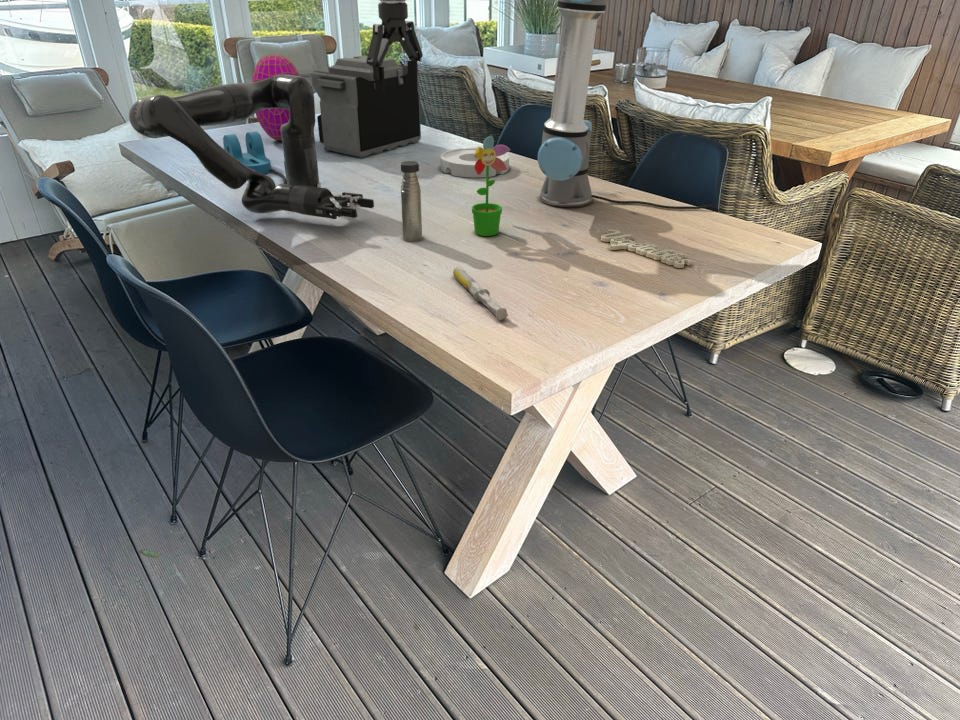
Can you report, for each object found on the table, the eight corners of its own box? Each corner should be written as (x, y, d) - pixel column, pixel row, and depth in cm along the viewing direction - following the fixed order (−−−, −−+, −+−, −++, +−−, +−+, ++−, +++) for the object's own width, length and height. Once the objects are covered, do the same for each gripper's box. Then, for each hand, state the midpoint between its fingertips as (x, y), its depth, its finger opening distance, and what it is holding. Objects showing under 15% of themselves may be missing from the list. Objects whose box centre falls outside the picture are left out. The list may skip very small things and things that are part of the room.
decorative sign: (586, 237, 174) (611, 228, 179) (586, 240, 174) (611, 231, 180) (674, 268, 157) (698, 257, 162) (673, 272, 157) (698, 261, 163)
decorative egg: (293, 132, 276) (283, 50, 261) (319, 140, 264) (310, 56, 249) (249, 139, 265) (236, 54, 250) (273, 148, 253) (261, 60, 238)
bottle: (426, 237, 175) (423, 164, 166) (413, 243, 172) (410, 168, 162) (411, 233, 178) (408, 161, 168) (399, 238, 174) (395, 165, 165)
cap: (422, 170, 166) (422, 162, 166) (410, 174, 163) (410, 166, 162) (409, 167, 169) (408, 159, 168) (397, 171, 166) (396, 163, 165)
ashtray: (443, 158, 243) (443, 147, 241) (508, 159, 242) (508, 148, 240) (437, 176, 223) (437, 164, 221) (508, 178, 222) (509, 165, 220)
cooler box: (383, 133, 276) (378, 52, 261) (425, 141, 265) (422, 56, 250) (314, 150, 251) (304, 61, 235) (358, 160, 240) (350, 67, 224)
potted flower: (478, 239, 174) (479, 138, 161) (464, 230, 180) (464, 131, 167) (510, 234, 178) (514, 134, 165) (496, 224, 184) (498, 128, 171)
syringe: (449, 274, 155) (449, 263, 153) (465, 272, 156) (464, 260, 154) (490, 323, 135) (491, 310, 133) (508, 319, 136) (508, 307, 134)
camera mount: (227, 164, 233) (221, 132, 227) (257, 160, 238) (252, 129, 233) (244, 176, 220) (239, 143, 215) (276, 172, 225) (271, 139, 220)
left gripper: (293, 194, 172) (349, 202, 167) (324, 179, 184) (377, 186, 179) (296, 222, 176) (351, 231, 171) (327, 207, 187) (379, 214, 182)
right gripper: (412, -1, 187) (415, 82, 198) (347, 3, 169) (355, 94, 180) (433, 0, 183) (435, 84, 194) (370, 4, 165) (376, 97, 176)
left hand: (365, 208), depth 175 cm, fingers open, 8 cm apart
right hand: (397, 89), depth 187 cm, fingers open, 13 cm apart
